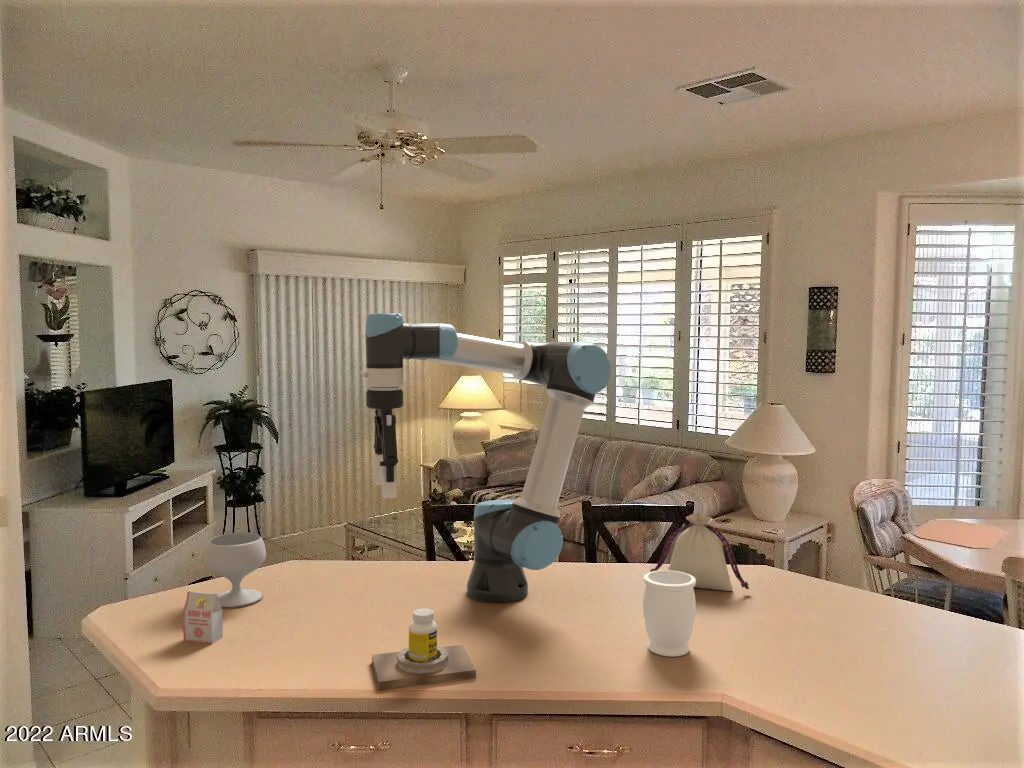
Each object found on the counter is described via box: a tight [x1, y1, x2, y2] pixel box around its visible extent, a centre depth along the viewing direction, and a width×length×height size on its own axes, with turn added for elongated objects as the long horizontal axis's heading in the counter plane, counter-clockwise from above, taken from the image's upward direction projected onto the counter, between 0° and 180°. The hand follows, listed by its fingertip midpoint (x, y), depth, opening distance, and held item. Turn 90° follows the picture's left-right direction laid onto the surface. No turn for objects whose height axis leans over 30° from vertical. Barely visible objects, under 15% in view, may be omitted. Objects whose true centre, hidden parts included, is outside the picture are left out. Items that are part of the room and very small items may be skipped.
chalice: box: [203, 531, 267, 608], centre depth 182 cm, size 14×14×15 cm
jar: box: [642, 569, 697, 658], centre depth 155 cm, size 11×10×15 cm
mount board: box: [371, 644, 477, 691], centre depth 145 cm, size 18×12×3 cm, turn 106°
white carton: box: [182, 591, 224, 645], centre depth 159 cm, size 4×7×10 cm, turn 77°
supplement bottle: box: [408, 608, 438, 663], centre depth 145 cm, size 5×5×10 cm
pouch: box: [649, 512, 750, 592], centre depth 192 cm, size 25×8×19 cm, turn 73°
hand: (385, 491), depth 157 cm, fingers open, 13 cm apart
